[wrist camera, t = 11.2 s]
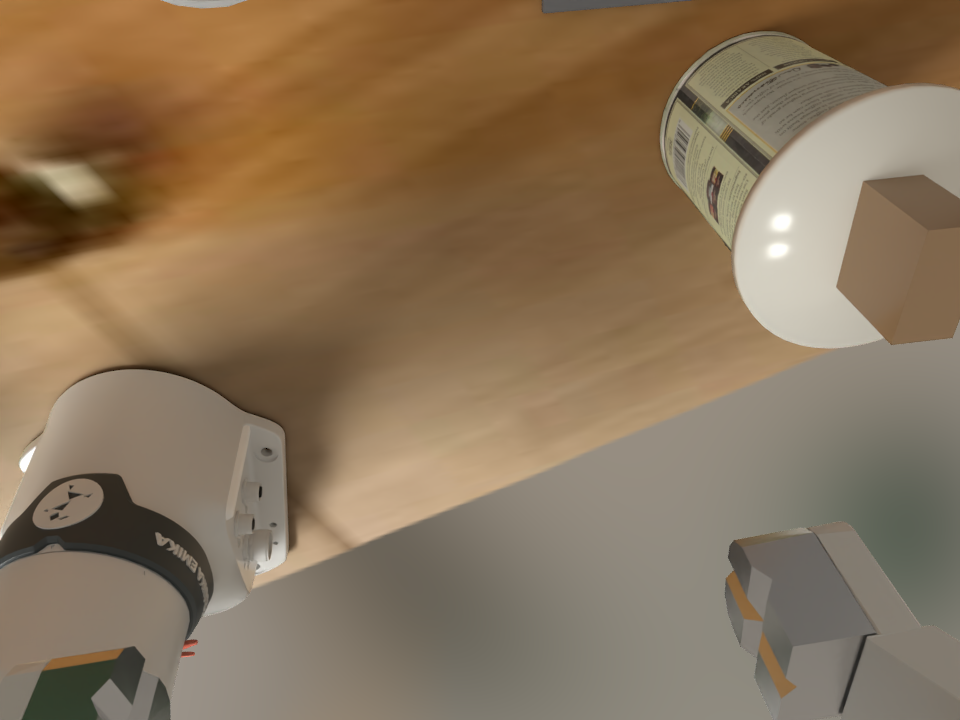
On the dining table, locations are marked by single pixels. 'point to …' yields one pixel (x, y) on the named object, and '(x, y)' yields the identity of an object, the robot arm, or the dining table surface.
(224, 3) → the disposable coffee cup
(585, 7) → the mat
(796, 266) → the lid
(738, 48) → the coffee can
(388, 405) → the dining table surface
